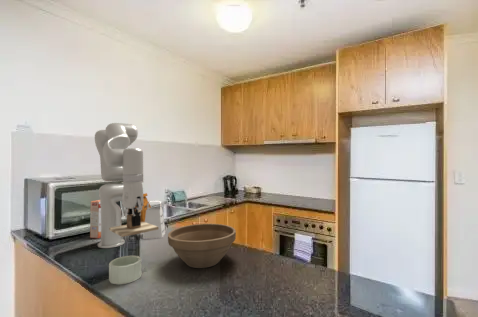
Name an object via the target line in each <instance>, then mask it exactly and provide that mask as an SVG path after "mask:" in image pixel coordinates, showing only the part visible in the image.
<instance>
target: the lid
mask: <svg viewBox="0 0 478 317" xmlns="http://www.w3.org/2000/svg"><path fill="white" fill-rule="evenodd" d="M132 216H133V214H129V215H128V214H126V224H121V226H116V227H110V228H109V230H110V231H112V232H114V233H115V234H117V235H119V236H121V238H124V237H127V236H128V237H129V236H133V235H139V234H143V233H144V232H149V231H153V230H158V227H157V226H154V225H152V224H149V223H146V222H141V215H140V225H139V226H134V227H133V226H132Z"/></svg>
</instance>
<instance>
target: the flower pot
mask: <svg viewBox="0 0 478 317" xmlns="http://www.w3.org/2000/svg"><path fill="white" fill-rule="evenodd" d="M236 233H237V232H236V229H235V228H234V227H232V226H231V225H227V224H222V223H198V224H197V223H196V224H189V225H184V226H180V227H177V228H175V229H171V230H170V231H169V232H168V233H167V241H168V242H167V244H168V245H169V246H170V248H172V249H173V250H174V252H175V254H176V255H177V256H178V258H179V259H181V260H182V261H183V262H184V263H185V264H186V265H187V266H188V267H190V268H195V269H205V268H211V267H214V266H216V265H217V264H219V263H220V261H221V260H222V259H223V258H224V257H225V255H226V254H227V253H228V251H229V250H230V248H231V246H232V244H233V243H234V242H235V241H236V237H237V235H236Z"/></svg>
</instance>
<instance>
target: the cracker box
mask: <svg viewBox="0 0 478 317" xmlns="http://www.w3.org/2000/svg"><path fill="white" fill-rule="evenodd" d="M89 218H90V222H89V224H90V226H89V229H90V230H89V238H90V239H101V203H100V199H97V200H91V201H90V215H89Z"/></svg>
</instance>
